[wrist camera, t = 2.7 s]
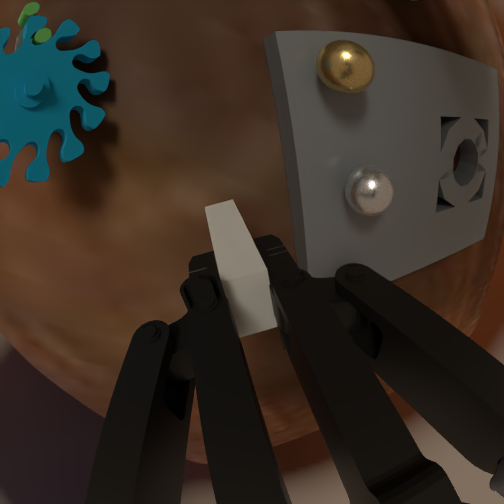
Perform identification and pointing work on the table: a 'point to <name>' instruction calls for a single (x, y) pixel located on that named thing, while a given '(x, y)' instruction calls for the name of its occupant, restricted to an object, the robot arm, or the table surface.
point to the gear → (44, 92)
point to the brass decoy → (345, 67)
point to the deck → (385, 151)
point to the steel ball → (369, 190)
